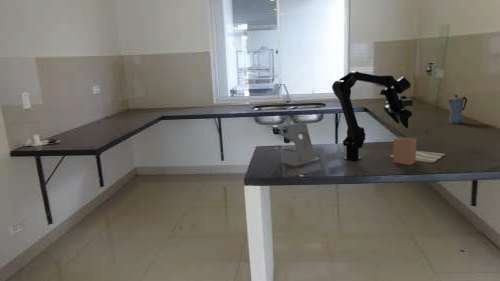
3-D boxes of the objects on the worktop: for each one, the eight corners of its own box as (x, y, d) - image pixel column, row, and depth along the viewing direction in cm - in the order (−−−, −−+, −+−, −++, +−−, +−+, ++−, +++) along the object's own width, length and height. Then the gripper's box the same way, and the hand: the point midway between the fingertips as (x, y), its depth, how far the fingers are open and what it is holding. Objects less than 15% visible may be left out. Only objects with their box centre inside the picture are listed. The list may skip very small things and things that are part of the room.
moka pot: (442, 122, 268) (443, 94, 264) (458, 120, 272) (460, 93, 268) (452, 124, 259) (454, 95, 255) (470, 122, 264) (472, 94, 259)
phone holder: (294, 166, 174) (293, 128, 170) (280, 162, 182) (279, 126, 178) (320, 159, 183) (320, 123, 180) (305, 156, 191) (305, 121, 188)
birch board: (432, 163, 168) (432, 162, 168) (389, 157, 182) (389, 156, 182) (444, 155, 181) (444, 154, 181) (403, 150, 194) (403, 149, 194)
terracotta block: (410, 164, 168) (411, 141, 165) (393, 162, 173) (393, 139, 171) (415, 162, 172) (416, 138, 170) (398, 159, 177) (399, 137, 175)
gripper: (417, 94, 174) (427, 123, 179) (398, 87, 191) (407, 113, 196) (395, 105, 174) (406, 133, 179) (378, 97, 192) (388, 123, 197)
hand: (402, 125), depth 188 cm, fingers open, 9 cm apart
